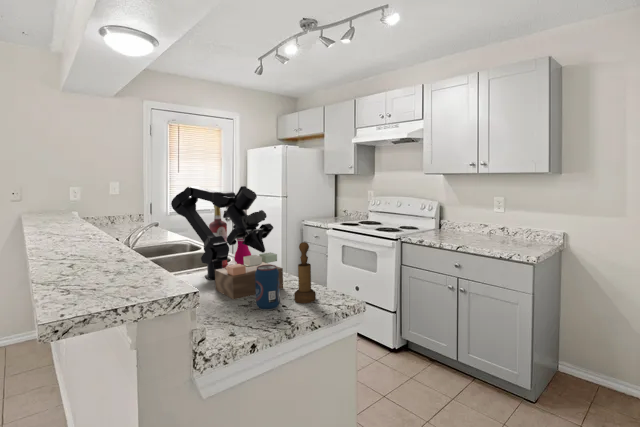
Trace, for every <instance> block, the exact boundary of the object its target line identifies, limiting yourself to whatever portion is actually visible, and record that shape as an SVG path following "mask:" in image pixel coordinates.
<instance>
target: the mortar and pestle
mask: <svg viewBox="0 0 640 427" xmlns="http://www.w3.org/2000/svg"><path fill="white" fill-rule="evenodd" d="M309 248H310V245H309V243H308V242H307V241H303V242H300V243H299V245H298V249H299V251H300V253H301V256H300V262H301V263H298V264H297V273H298V275H297V277H298V278H297V279H298V280H297V281H298V288H297V289H296V291H295V292H294V293H293V295H294V296H293V299H294V302H295V303H299V304H309V303H314V302H315V301H316V300H317V295H316V294H317V293H316V291H315V290H314V289H312V269H311V263H309V262H308V260H309V259H308V258H309V257H308V255H307V254H308V251H309Z"/></svg>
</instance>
